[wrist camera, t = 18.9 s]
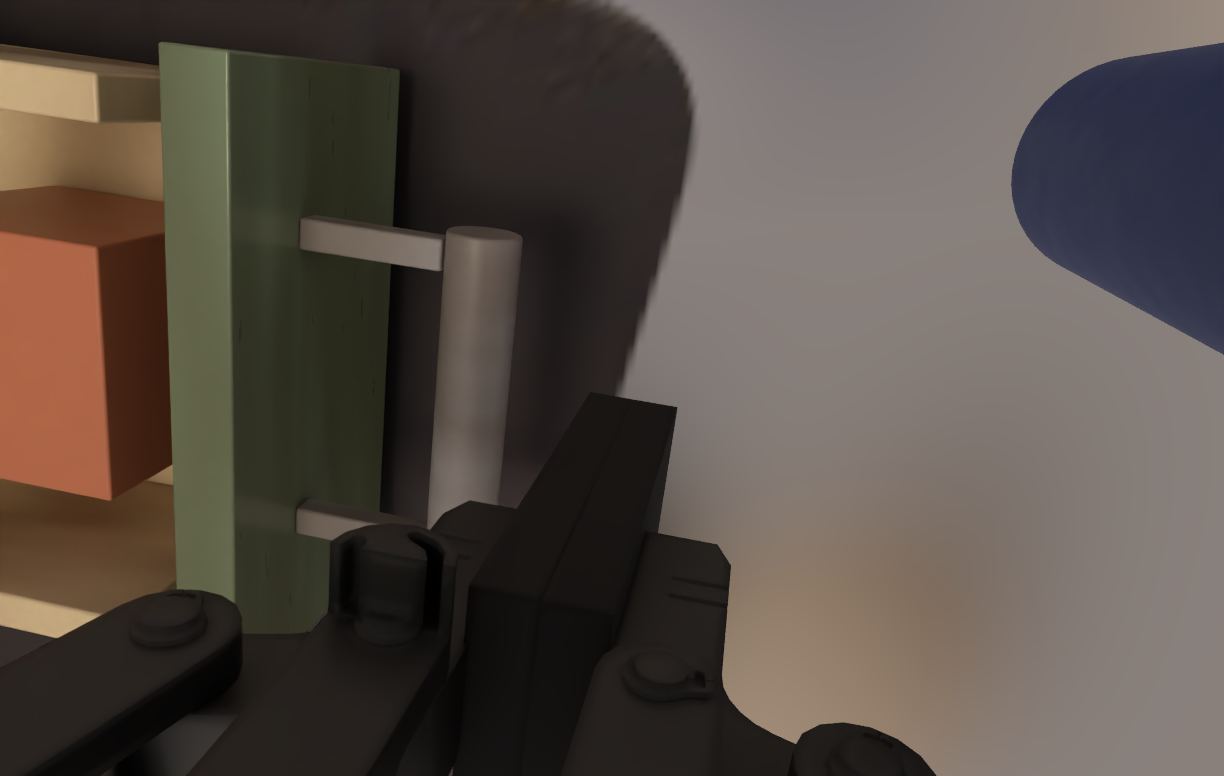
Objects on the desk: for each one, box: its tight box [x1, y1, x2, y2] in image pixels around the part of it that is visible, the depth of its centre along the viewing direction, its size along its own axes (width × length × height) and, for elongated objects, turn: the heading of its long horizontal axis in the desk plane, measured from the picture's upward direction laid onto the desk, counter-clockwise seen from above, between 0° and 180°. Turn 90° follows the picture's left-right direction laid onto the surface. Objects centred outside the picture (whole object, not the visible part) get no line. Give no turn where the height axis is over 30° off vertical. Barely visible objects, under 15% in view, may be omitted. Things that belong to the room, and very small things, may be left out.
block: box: [0, 185, 172, 500], centre depth 19 cm, size 5×5×5 cm
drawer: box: [0, 42, 523, 638], centre depth 19 cm, size 17×12×7 cm
